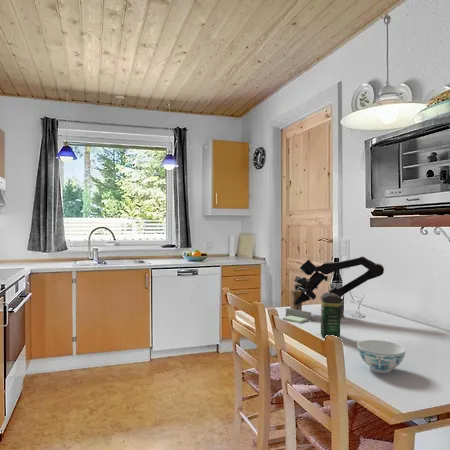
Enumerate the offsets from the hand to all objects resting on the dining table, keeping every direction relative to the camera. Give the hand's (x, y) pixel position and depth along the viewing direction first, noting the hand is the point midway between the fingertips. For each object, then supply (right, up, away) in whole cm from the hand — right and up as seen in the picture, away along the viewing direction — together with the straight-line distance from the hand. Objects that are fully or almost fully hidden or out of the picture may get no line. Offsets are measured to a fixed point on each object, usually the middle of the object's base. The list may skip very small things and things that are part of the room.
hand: (293, 302), depth 210 cm
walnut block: (+1, -7, 0) cm, 7 cm away
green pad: (-1, -7, -10) cm, 12 cm away
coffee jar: (+9, -7, -38) cm, 40 cm away
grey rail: (+1, -7, -6) cm, 9 cm away
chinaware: (+16, -8, -77) cm, 79 cm away
